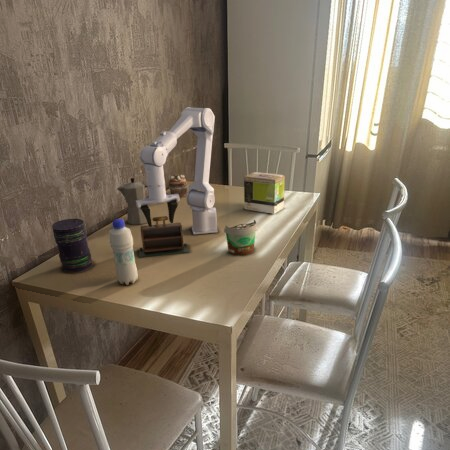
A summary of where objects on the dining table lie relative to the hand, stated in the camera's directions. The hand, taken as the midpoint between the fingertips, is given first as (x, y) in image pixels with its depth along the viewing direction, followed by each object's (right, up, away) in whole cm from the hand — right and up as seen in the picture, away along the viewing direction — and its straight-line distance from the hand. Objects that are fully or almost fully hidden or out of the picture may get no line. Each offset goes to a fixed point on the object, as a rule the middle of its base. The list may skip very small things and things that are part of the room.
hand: (160, 224), depth 142 cm
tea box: (+39, +14, +41) cm, 58 cm away
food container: (+29, -10, +1) cm, 31 cm away
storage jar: (-27, -15, -4) cm, 31 cm away
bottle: (-8, -21, -15) cm, 26 cm away
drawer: (0, -8, +4) cm, 9 cm away
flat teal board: (0, -9, +4) cm, 10 cm away
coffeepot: (-13, +7, +33) cm, 36 cm away
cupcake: (-1, +26, +63) cm, 68 cm away
